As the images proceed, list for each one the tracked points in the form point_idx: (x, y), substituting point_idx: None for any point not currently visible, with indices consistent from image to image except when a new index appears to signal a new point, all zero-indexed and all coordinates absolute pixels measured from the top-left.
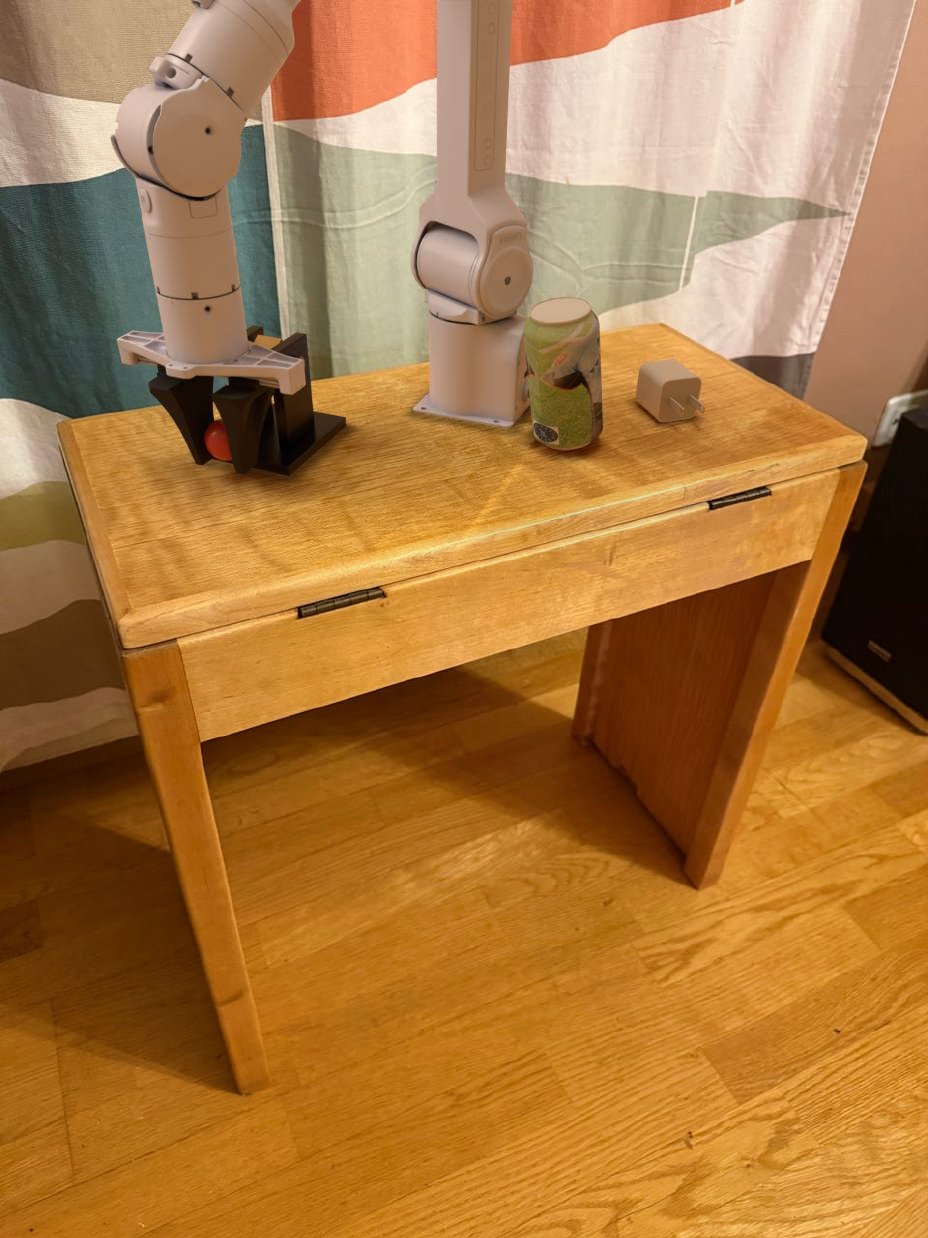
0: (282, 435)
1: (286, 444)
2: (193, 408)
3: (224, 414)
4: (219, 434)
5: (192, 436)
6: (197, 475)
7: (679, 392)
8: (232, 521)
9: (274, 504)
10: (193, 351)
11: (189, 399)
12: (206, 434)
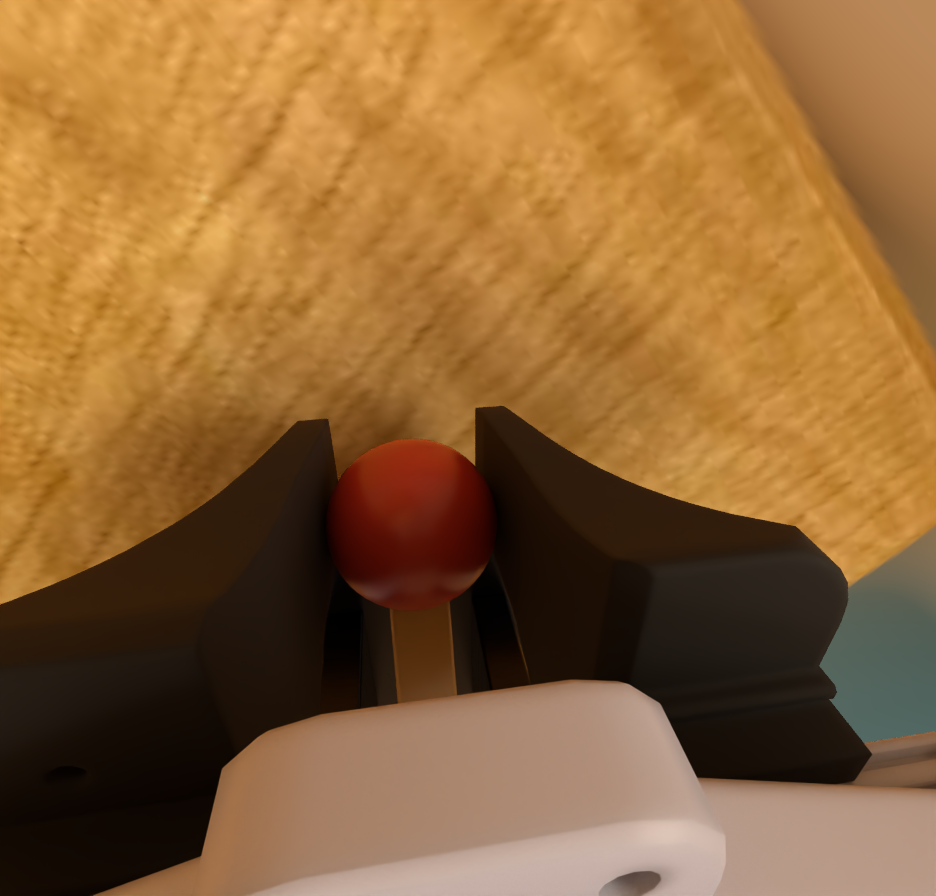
0: (343, 643)
1: (334, 622)
2: (539, 570)
3: (213, 561)
4: (387, 505)
5: (508, 454)
6: (530, 416)
7: None
8: (217, 211)
9: (180, 378)
10: None
11: (558, 601)
12: (462, 493)
